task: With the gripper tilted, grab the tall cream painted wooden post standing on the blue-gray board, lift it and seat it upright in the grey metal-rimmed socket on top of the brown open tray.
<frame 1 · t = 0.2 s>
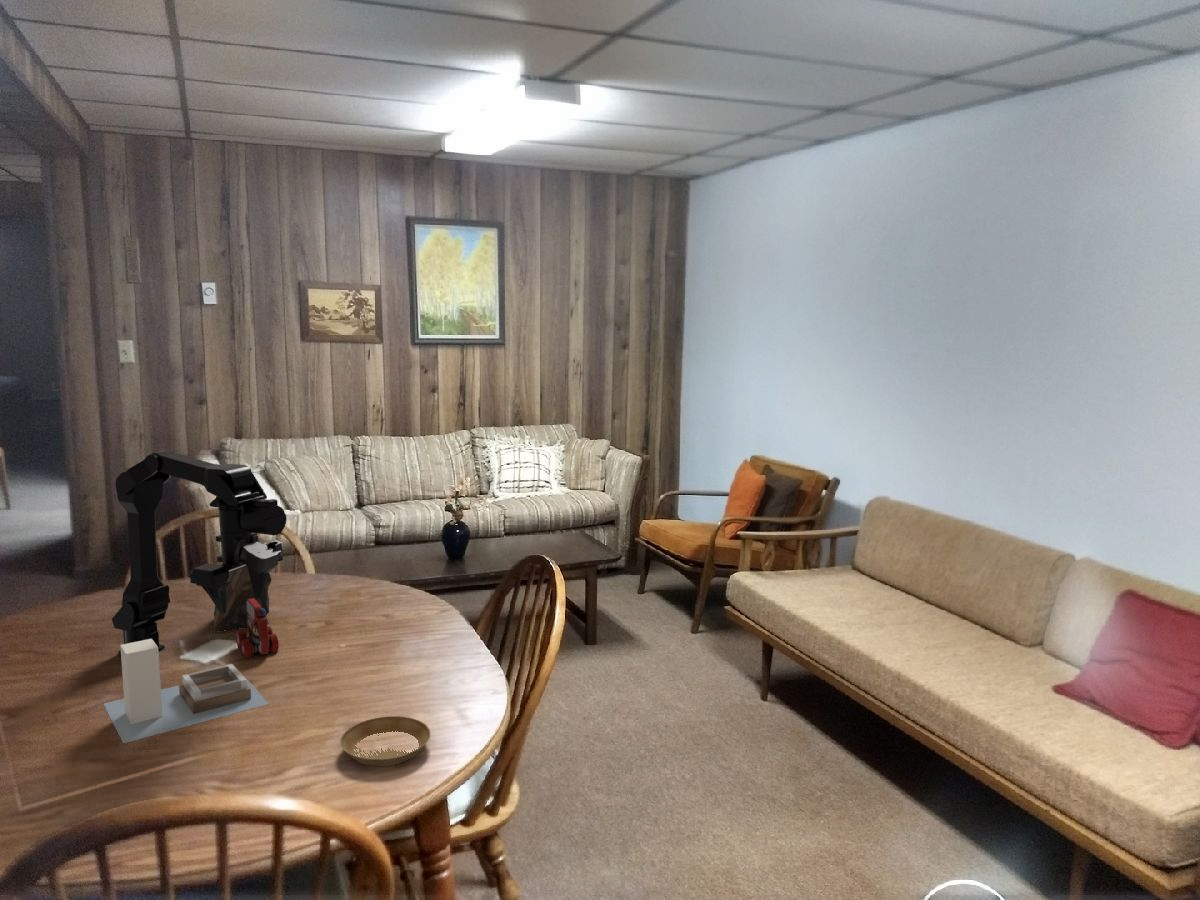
hand: (241, 606, 166), 15 cm above the table, tool pointing down, fingers open, 9 cm apart
brown open tray: (215, 696, 158), resting on blue-gray board
cream post: (143, 714, 150), resting on blue-gray board
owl: (237, 623, 196), on the table
blue-gray board: (186, 706, 154), on the table
plant saucer: (386, 751, 141), on the table
toy fire truck: (257, 652, 180), on the table
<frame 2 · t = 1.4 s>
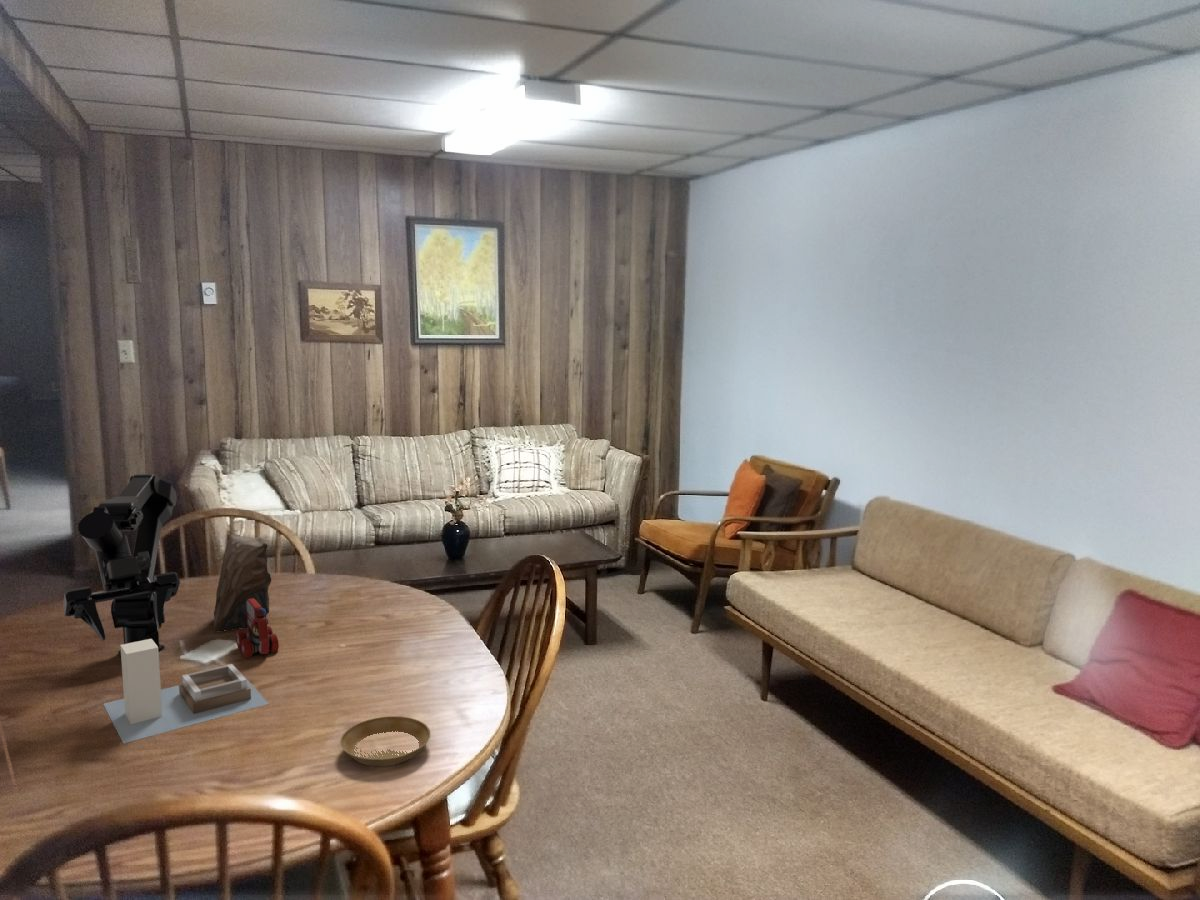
hand: (132, 633, 154), 13 cm above the table, tool tilted 45°, fingers open, 9 cm apart
nothing on the table moved.
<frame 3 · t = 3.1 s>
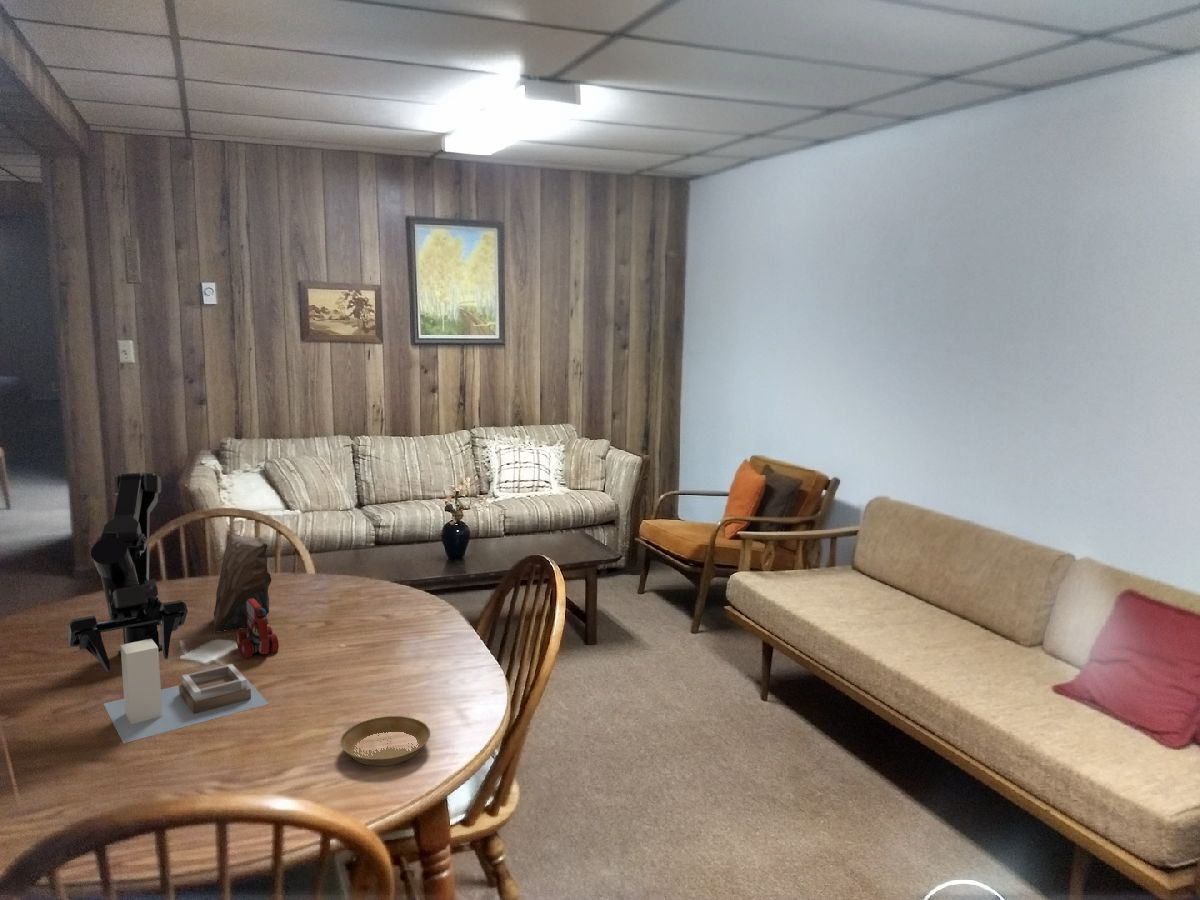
hand: (138, 664, 149), 10 cm above the table, tool tilted 45°, fingers open, 9 cm apart
nothing on the table moved.
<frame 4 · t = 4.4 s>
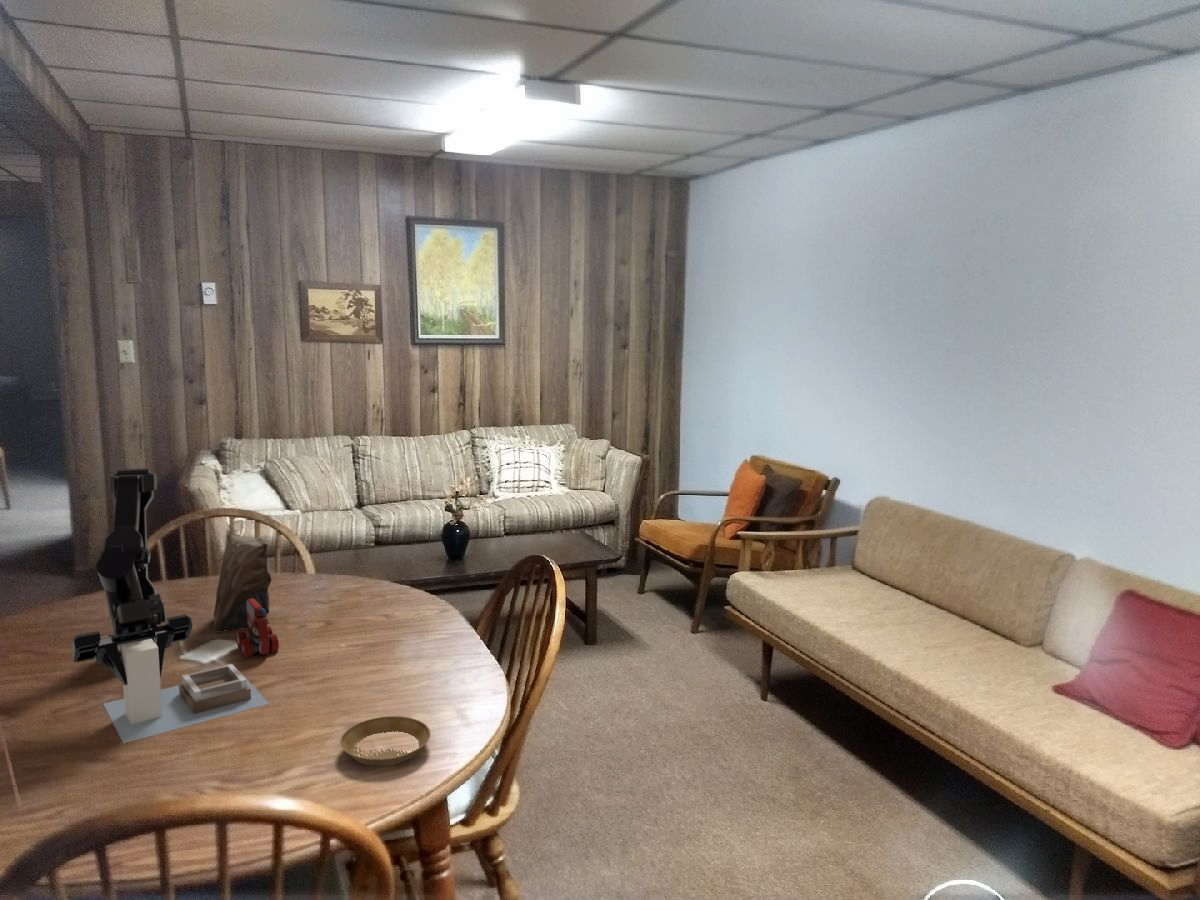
hand: (143, 680, 148), 8 cm above the table, tool tilted 45°, fingers closed on cream post, 5 cm apart
cream post: (143, 714, 150), point 1 cm above the table, touching blue-gray board, gripper
everything else where it was.
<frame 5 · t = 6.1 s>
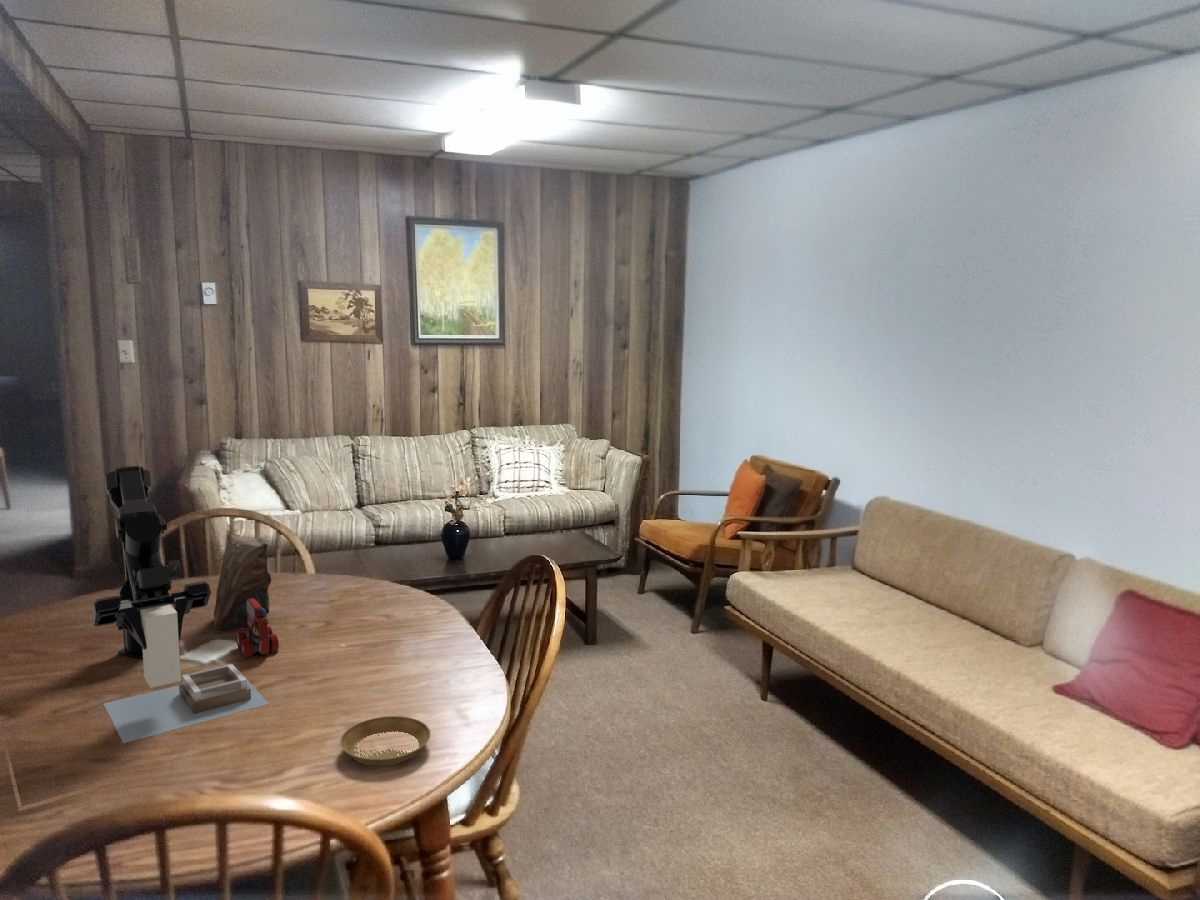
hand: (162, 644, 149), 13 cm above the table, tool tilted 45°, fingers closed on cream post, 5 cm apart
cream post: (162, 679, 151), point 6 cm above the table, touching gripper
everything else where it was.
when the fingers open (10 cm above the table, at t = 7.9 s): cream post stays where it is, resting on brown open tray.
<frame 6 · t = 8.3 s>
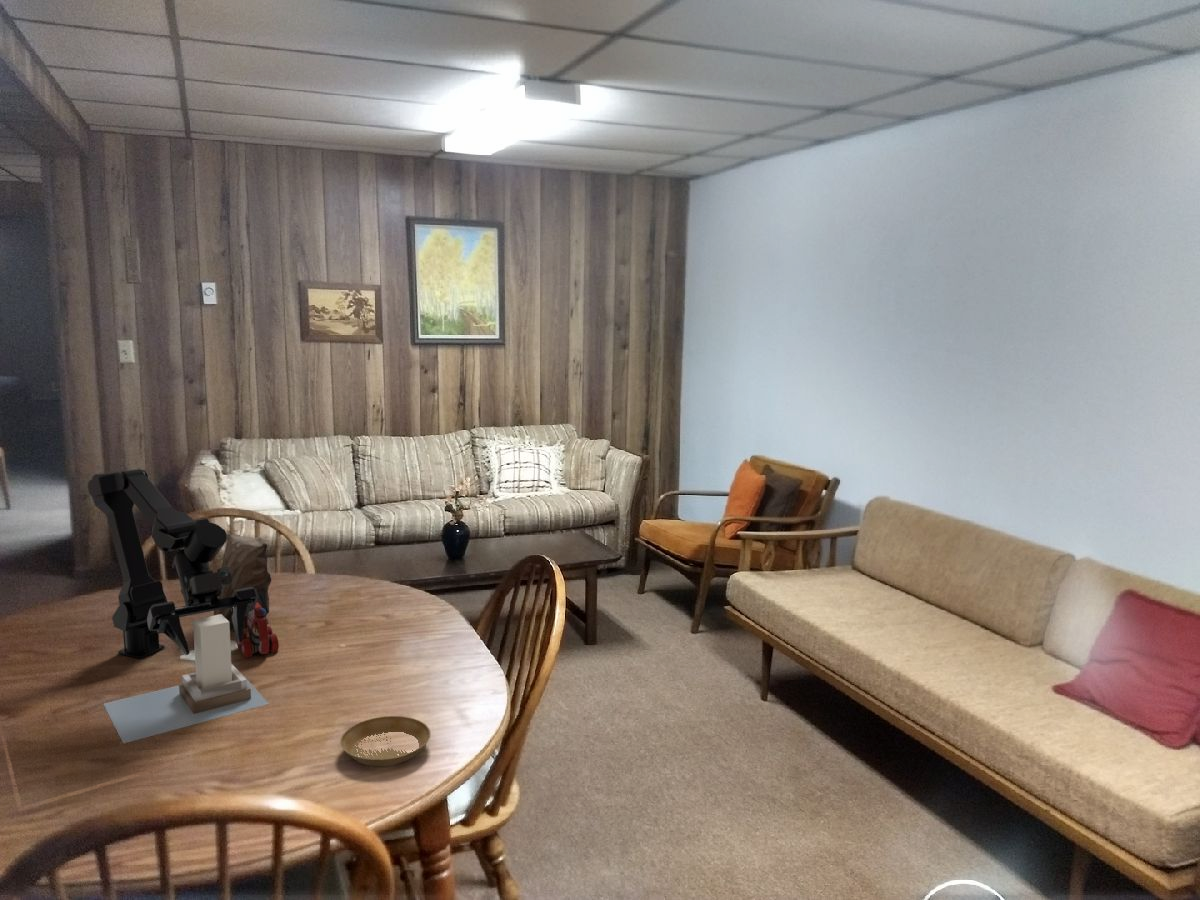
hand: (214, 648, 155), 11 cm above the table, tool tilted 45°, fingers open, 9 cm apart
cream post: (214, 686, 157), point 2 cm above the table, touching brown open tray
everything else where it was.
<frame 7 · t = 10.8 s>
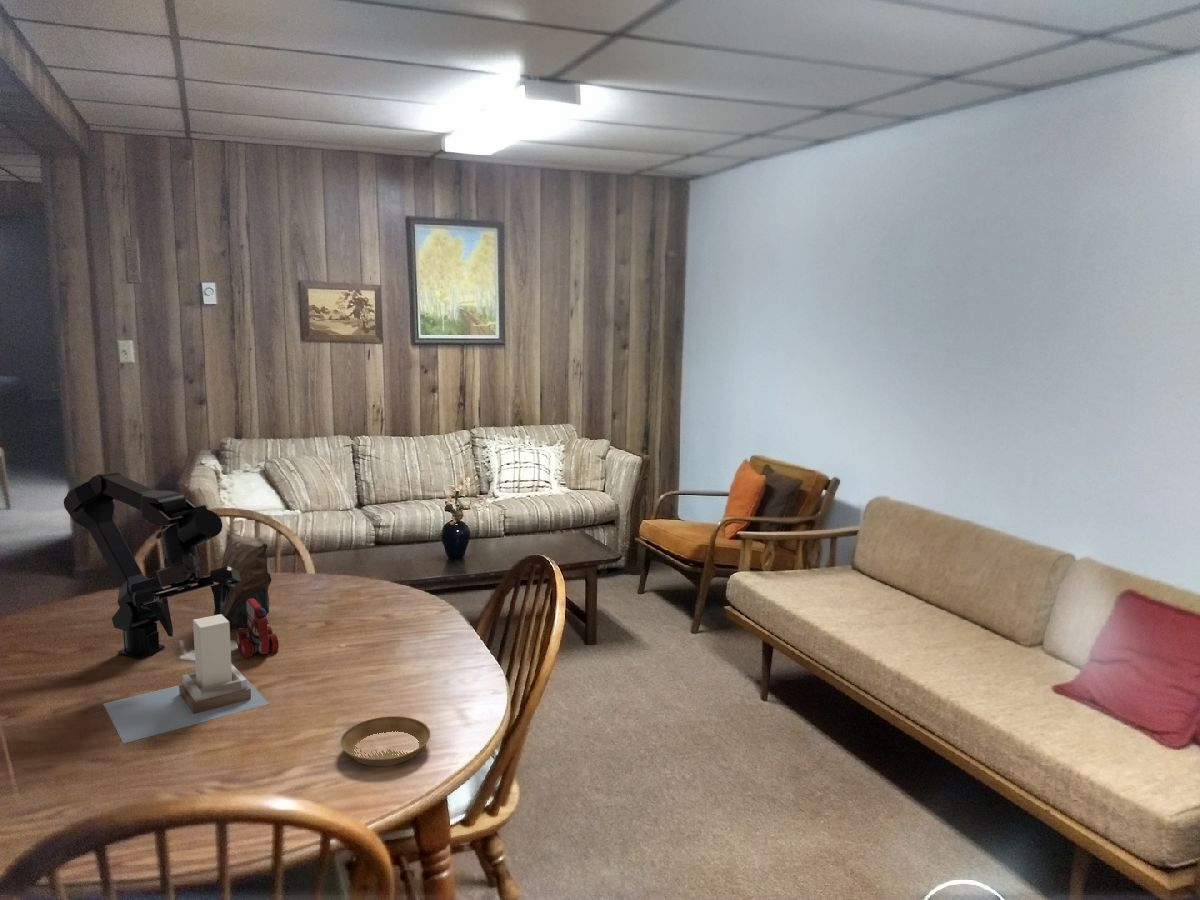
hand: (195, 629, 164), 11 cm above the table, tool tilted 30°, fingers open, 9 cm apart
nothing on the table moved.
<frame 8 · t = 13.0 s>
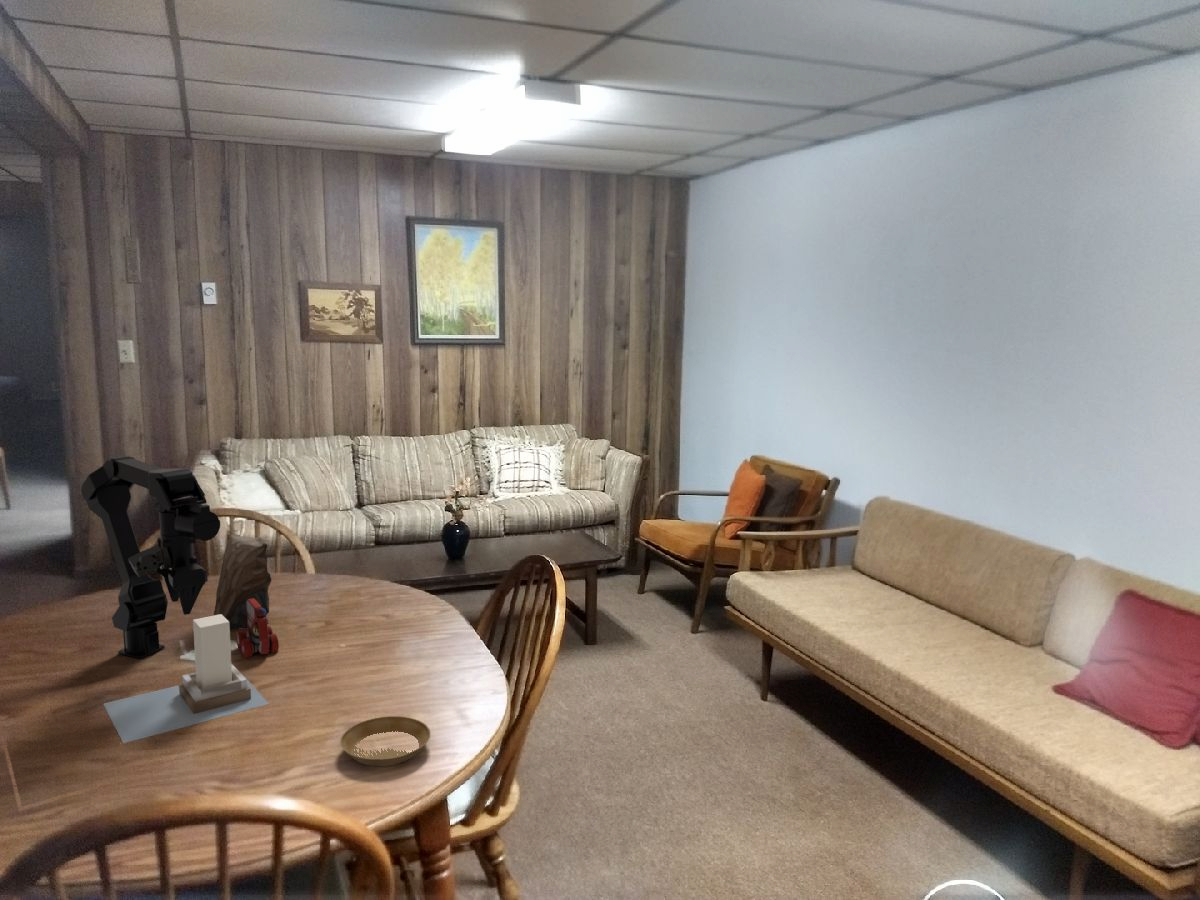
hand: (180, 607, 168), 13 cm above the table, tool pointing down, fingers open, 9 cm apart
nothing on the table moved.
at the end: cream post 0.0 cm off-centre on the brown open tray, point 2.0 cm above the brown open tray's base; cream post tilted 0°; the gripper is holding nothing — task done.
